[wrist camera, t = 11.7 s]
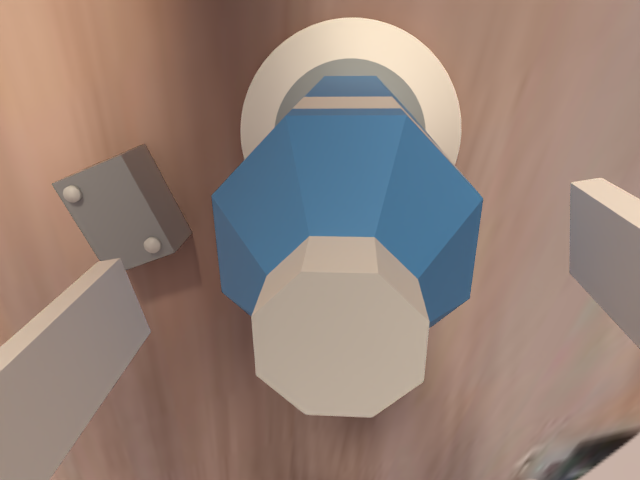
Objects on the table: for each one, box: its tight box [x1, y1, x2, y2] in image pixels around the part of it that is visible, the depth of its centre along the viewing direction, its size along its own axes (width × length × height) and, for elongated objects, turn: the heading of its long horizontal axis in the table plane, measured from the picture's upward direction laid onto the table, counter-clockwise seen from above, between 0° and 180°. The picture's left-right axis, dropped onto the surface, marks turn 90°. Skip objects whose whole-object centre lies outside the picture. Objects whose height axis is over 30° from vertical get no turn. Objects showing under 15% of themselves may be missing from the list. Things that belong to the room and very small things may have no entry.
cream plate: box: [240, 18, 461, 165], centre depth 34 cm, size 16×16×1 cm
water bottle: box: [211, 76, 483, 418], centre depth 22 cm, size 9×9×25 cm
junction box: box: [52, 144, 192, 270], centre depth 35 cm, size 8×6×4 cm
